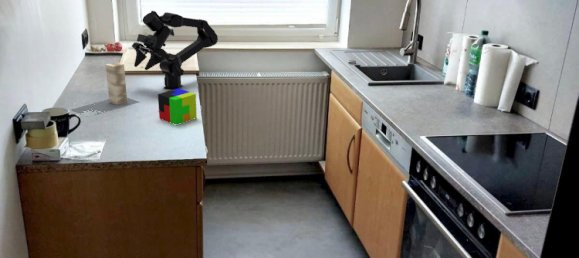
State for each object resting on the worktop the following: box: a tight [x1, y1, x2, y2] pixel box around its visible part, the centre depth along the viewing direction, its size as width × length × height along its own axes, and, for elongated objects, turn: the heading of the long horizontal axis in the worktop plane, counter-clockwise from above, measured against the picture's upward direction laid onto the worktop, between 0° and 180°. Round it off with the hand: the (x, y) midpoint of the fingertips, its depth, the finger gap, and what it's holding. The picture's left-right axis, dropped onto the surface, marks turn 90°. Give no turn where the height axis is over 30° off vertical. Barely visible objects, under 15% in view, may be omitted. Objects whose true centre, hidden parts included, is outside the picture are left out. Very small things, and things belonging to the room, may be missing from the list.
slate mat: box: [70, 97, 139, 114], centre depth 214 cm, size 24×12×1 cm, turn 143°
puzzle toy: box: [157, 88, 198, 125], centre depth 204 cm, size 10×10×10 cm
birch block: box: [105, 61, 128, 105], centre depth 216 cm, size 5×5×16 cm
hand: (140, 68), depth 223 cm, fingers open, 7 cm apart
